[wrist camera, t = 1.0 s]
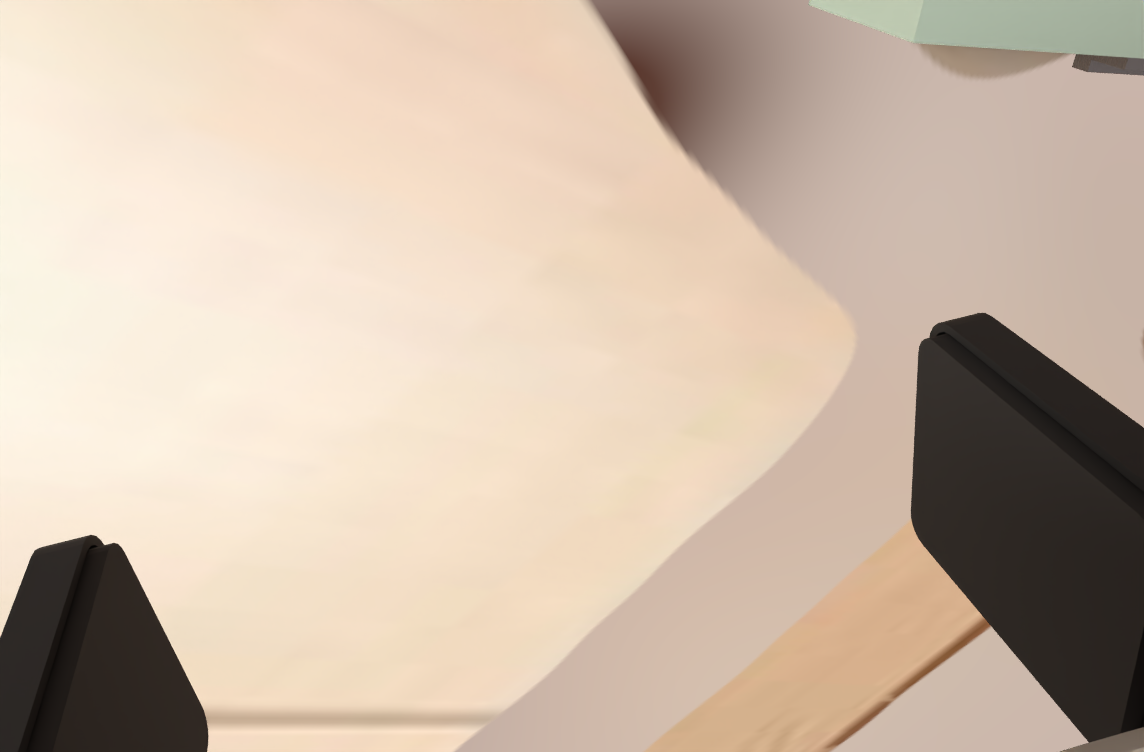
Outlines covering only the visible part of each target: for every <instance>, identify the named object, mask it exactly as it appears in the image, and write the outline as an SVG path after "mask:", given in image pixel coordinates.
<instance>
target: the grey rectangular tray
mask: <svg viewBox="0 0 1144 752" xmlns="http://www.w3.org/2000/svg"><path fill="white" fill-rule="evenodd" d="M1072 67H1074V68H1077V69H1080V70H1083V71H1086V72H1097V73H1114V74H1130V75H1144V59H1143V58H1128V57H1113V56H1098V55H1083V54H1076V57H1075V60H1074V63H1073V66H1072Z"/></svg>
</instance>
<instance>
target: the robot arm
mask: <svg viewBox="0 0 1144 752" xmlns="http://www.w3.org/2000/svg"><path fill="white" fill-rule="evenodd" d="M918 353H919V354H918V373H917V394H916V395H917V396H916V416H915V436H914V457H913V479H912V501H911V519H912V524H913V527H914V530H915V532H916V534H917V536H918V539H919V540H920V541H921V543H922V544H923V545H924V547H925V548H926V549H927V550H928V551H929V553H930V554H931V555H932V556H933V557H934V559H935V560H936V561H937V562H938V563H939V565H940V566H941V567H942V568H943V569H944V570H945V572H946V573H947V574H948V575H949V576H950V578H951V579H952V580H953V581H954V582H955V584H956V585H957V586H958V587H959V588H960V589H961V591H962V592H963V593H964V594H965V595H966V597H967V598H968V599H969V600H970V601H971V603H972V604H973V605H974V606H975V607H976V609H977V610H978V611H979V612H980V613H981V614H982V616H983V617H984V618H985V619H986V620H987V622H988V623H989V624H990V625H991V626H992V627H993V629H994V630H995V631H996V632H997V633H998V635H999V636H1000V637H1001V638H1002V639H1003V641H1004V642H1005V643H1006V644H1007V645H1008V647H1009V648H1010V649H1011V650H1012V651H1013V653H1014V654H1015V655H1016V656H1017V657H1018V658H1019V660H1020V661H1021V662H1022V663H1023V664H1024V665H1025V667H1026V668H1027V669H1028V670H1029V672H1030V673H1031V674H1032V675H1033V676H1034V677H1035V679H1036V680H1037V681H1038V682H1039V683H1040V685H1041V686H1042V687H1043V688H1044V689H1045V691H1046V692H1047V693H1048V694H1049V695H1050V697H1051V698H1052V699H1053V700H1054V701H1055V703H1056V704H1057V705H1058V706H1059V707H1060V708H1061V710H1062V711H1063V712H1064V713H1065V714H1066V716H1067V717H1068V718H1069V719H1070V720H1071V722H1072V723H1073V724H1074V725H1075V726H1076V727H1077V729H1078V730H1079V731H1080V732H1081V733H1082V735H1083V736H1084V737H1085V738H1086V739H1087V741H1088V742H1089V743H1087V744H1083V745H1080V746H1077V747H1073V748H1070V749H1067V750H1063V751H1060V752H1144V428H1143V427H1142V426H1141V425H1139V424H1138V423H1136V422H1135V421H1134V420H1132V419H1131V418H1130V417H1128V416H1127V415H1125V414H1124V413H1123V412H1121V411H1120V410H1119V409H1117V408H1116V407H1115V406H1113V405H1112V404H1110V403H1109V402H1108V401H1106V400H1105V399H1103V398H1102V397H1101V396H1099V395H1098V394H1097V393H1096V392H1094V391H1093V390H1091V389H1090V388H1089V387H1087V386H1086V385H1085V384H1083V383H1082V382H1080V381H1079V380H1078V379H1076V378H1075V377H1074V376H1072V375H1071V374H1069V373H1068V372H1067V371H1065V370H1064V369H1063V368H1061V367H1060V366H1059V365H1057V364H1056V363H1055V362H1053V361H1052V360H1050V359H1049V358H1048V357H1046V356H1045V355H1044V354H1042V353H1041V352H1040V351H1038V350H1037V349H1036V348H1034V347H1033V346H1031V345H1030V344H1029V343H1027V342H1026V341H1024V340H1023V339H1022V338H1020V337H1019V336H1018V335H1016V334H1015V333H1014V332H1012V331H1011V330H1010V329H1008V328H1007V327H1006V326H1004V325H1003V324H1001V323H1000V322H999V321H997V320H996V319H995V318H993V317H992V316H990V315H988V314H986V313H977V314H974V315H969V316H965V317H961V318H957V319H953V320H949V321H945V322H941V323H938V324H936V325H935V326H934V327H933V329H932V331H931V333H930V338H927V339H924V340H923V341H922V342H921V344H920V346H919V352H918ZM207 748H208V727H207V721H206V717H205V713H204V710H203V708H202V706H201V704H200V702H199V700H198V698H197V696H196V694H195V692H194V690H193V688H192V686H191V684H190V682H189V680H188V678H187V676H186V674H185V672H184V670H183V668H182V666H181V664H180V662H179V660H178V658H177V656H176V654H175V652H174V650H173V648H172V646H171V644H170V642H169V640H168V638H167V636H166V634H165V632H164V630H163V628H162V626H161V624H160V622H159V620H158V618H157V616H156V614H155V612H154V610H153V608H152V606H151V604H150V602H149V600H148V598H147V596H146V594H145V592H144V590H143V588H142V586H141V584H140V582H139V580H138V578H137V576H136V574H135V572H134V570H133V568H132V566H131V564H130V562H129V560H128V558H127V556H126V554H125V552H124V551H123V549H122V548H121V547H120V546H119V545H118V544H116V543H112V544H108V545H104V544H103V543H102V541H101V540H100V539H99V538H98V537H97V536H94V535H89V536H85V537H81V538H77V539H73V540H69V541H65V542H61V543H57V544H53V545H49V546H45V547H41V548H39V549H37V550H35V551H34V553H33V555H32V556H31V559H30V561H29V564H28V566H27V569H26V572H25V574H24V577H23V580H22V582H21V585H20V587H19V590H18V593H17V595H16V598H15V601H14V603H13V606H12V609H11V611H10V614H9V616H8V619H7V622H6V624H5V627H4V630H3V632H2V635H1V637H0V752H207Z"/></svg>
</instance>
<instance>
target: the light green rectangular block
mask: <svg viewBox="0 0 1144 752" xmlns="http://www.w3.org/2000/svg"><path fill="white" fill-rule="evenodd" d="M808 5H810V6H813V7H815V8H818V9H821V10H824V11H826V12H829V13H832V14H835V15H837V16H840V17H843V18H846V19H848V20H851V21H854V22H857V23H860V24H862V25H865V26H868V27H870V28H873V29H876V30H879V31H881V32H884V33H887V34H890V35H892V36H895V37H898V38H901V39H903V40H906V41H909V42H912V43H921V44H935V45H950V46H965V47H980V48H995V49H1009V50H1024V51H1039V52H1054V53H1069V54H1083V55H1098V56H1113V57H1128V58H1143V59H1144V0H809V4H808Z"/></svg>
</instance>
